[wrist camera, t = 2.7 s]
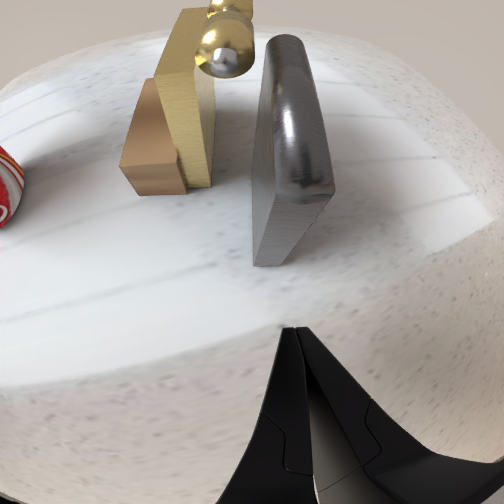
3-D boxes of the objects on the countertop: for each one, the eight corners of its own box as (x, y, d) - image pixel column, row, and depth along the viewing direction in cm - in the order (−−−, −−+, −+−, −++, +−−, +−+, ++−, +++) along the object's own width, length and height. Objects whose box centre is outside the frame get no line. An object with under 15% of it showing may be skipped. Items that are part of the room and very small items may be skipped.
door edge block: (187, 194, 18) (176, 162, 14) (139, 195, 18) (119, 167, 14) (197, 109, 20) (192, 74, 16) (156, 112, 20) (145, 78, 16)
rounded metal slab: (279, 266, 17) (344, 180, 6) (252, 266, 17) (281, 177, 6) (274, 167, 19) (307, 36, 8) (251, 166, 19) (267, 32, 8)
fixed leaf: (244, 193, 18) (257, 43, 7) (187, 194, 18) (141, 50, 7) (244, 108, 20) (253, -19, 9) (197, 109, 20) (181, -16, 9)
